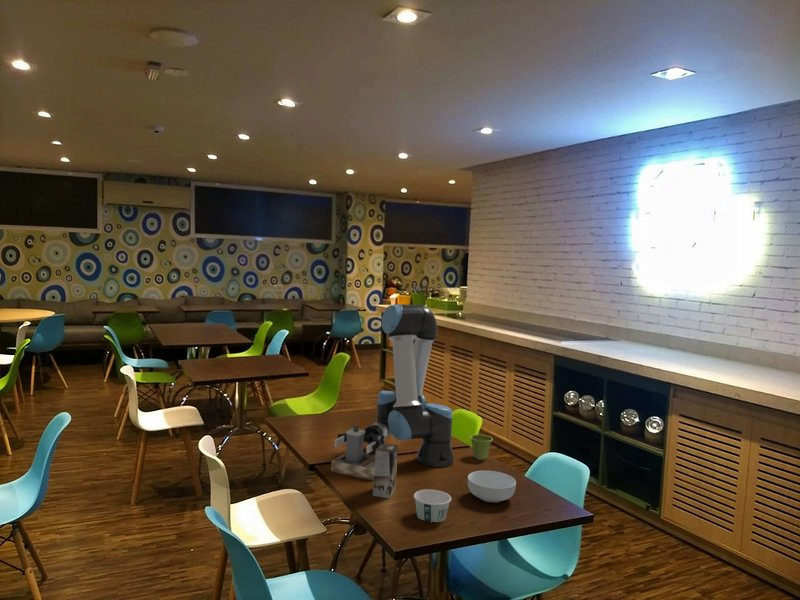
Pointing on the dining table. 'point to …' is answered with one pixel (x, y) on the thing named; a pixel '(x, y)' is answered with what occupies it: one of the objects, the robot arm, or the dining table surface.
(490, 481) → the cereal bowl
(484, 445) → the plant pot
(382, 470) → the coffee box
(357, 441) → the grey pepper mill
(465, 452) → the dining table surface
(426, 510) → the food container
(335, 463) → the tray
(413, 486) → the dining table surface
